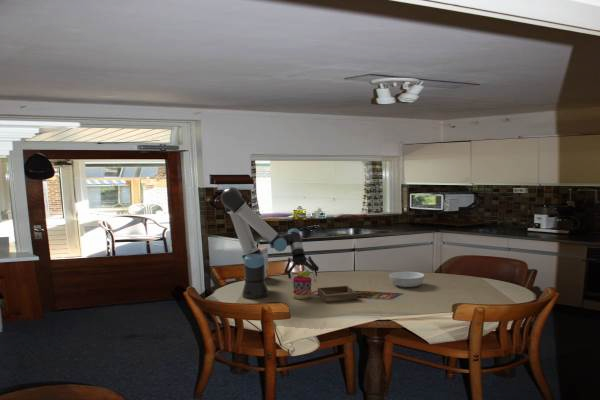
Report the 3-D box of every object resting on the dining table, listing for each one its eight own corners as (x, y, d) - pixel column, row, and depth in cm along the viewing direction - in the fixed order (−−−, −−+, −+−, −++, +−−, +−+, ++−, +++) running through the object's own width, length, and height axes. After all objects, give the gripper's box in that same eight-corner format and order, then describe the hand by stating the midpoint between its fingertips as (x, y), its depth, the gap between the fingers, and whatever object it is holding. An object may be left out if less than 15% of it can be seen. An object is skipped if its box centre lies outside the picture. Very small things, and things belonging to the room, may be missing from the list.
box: (317, 294, 268) (317, 288, 268) (347, 292, 272) (347, 285, 271) (325, 303, 250) (325, 295, 250) (357, 300, 254) (357, 293, 254)
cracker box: (261, 277, 319) (260, 246, 318) (269, 277, 317) (268, 247, 316) (252, 281, 306) (251, 250, 305) (260, 282, 304) (259, 250, 303)
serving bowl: (409, 280, 297) (409, 269, 297) (432, 287, 278) (431, 275, 278) (382, 284, 288) (382, 273, 288) (404, 291, 269) (403, 280, 269)
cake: (299, 300, 256) (300, 273, 255) (289, 296, 265) (289, 269, 264) (314, 297, 262) (315, 271, 261) (304, 293, 271) (304, 268, 270)
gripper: (316, 253, 284) (324, 283, 271) (276, 256, 279) (281, 287, 265) (318, 246, 278) (326, 276, 265) (277, 249, 273) (283, 280, 260)
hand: (304, 282), depth 265 cm, fingers open, 13 cm apart
